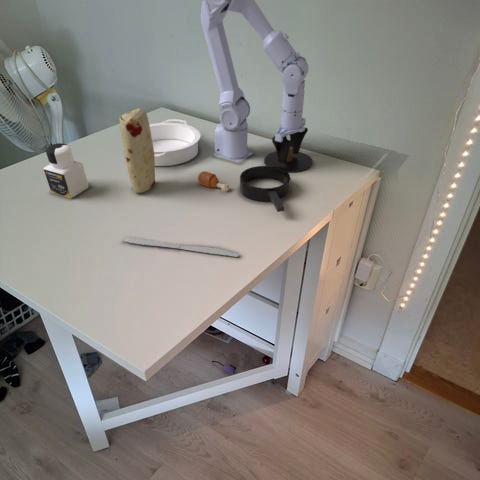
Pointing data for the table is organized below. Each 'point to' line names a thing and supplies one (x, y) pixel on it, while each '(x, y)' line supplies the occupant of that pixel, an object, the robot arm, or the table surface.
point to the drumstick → (211, 181)
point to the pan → (264, 173)
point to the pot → (174, 142)
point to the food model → (138, 149)
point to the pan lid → (290, 161)
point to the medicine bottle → (64, 171)
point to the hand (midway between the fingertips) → (288, 157)
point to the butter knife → (181, 247)
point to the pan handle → (276, 201)
